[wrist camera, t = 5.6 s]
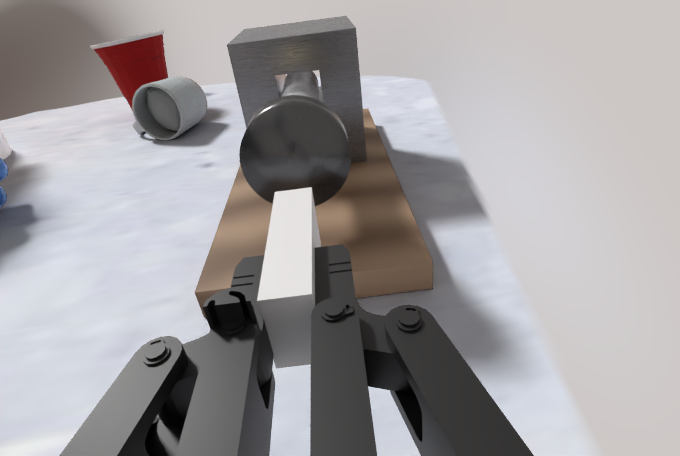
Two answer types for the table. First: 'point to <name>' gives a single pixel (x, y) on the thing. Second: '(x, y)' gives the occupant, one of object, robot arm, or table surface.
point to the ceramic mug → (168, 107)
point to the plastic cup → (134, 61)
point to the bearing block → (302, 69)
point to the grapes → (0, 173)
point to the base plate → (334, 229)
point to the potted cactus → (4, 147)
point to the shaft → (296, 143)
